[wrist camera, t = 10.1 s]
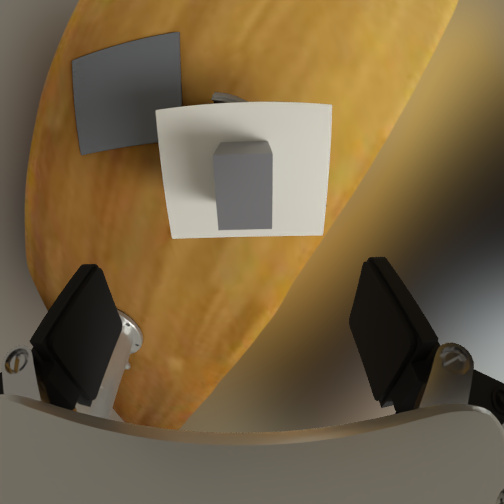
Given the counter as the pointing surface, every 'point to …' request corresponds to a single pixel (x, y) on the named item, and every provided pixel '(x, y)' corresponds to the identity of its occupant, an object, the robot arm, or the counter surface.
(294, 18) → the counter surface
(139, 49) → the mat
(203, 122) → the lid
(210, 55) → the counter surface
